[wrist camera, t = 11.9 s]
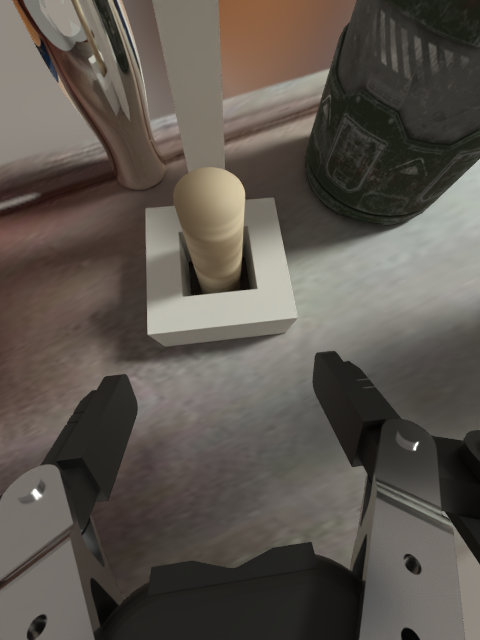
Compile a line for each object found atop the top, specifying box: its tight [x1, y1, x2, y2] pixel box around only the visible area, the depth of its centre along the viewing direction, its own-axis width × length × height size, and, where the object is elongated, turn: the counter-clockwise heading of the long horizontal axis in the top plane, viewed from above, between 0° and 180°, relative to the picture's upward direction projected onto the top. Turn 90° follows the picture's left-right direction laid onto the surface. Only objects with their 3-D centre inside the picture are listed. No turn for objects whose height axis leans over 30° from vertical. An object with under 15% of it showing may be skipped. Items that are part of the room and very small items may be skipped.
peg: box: [173, 167, 245, 295], centre depth 19 cm, size 4×4×12 cm
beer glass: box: [12, 0, 166, 190], centre depth 22 cm, size 7×7×15 cm
